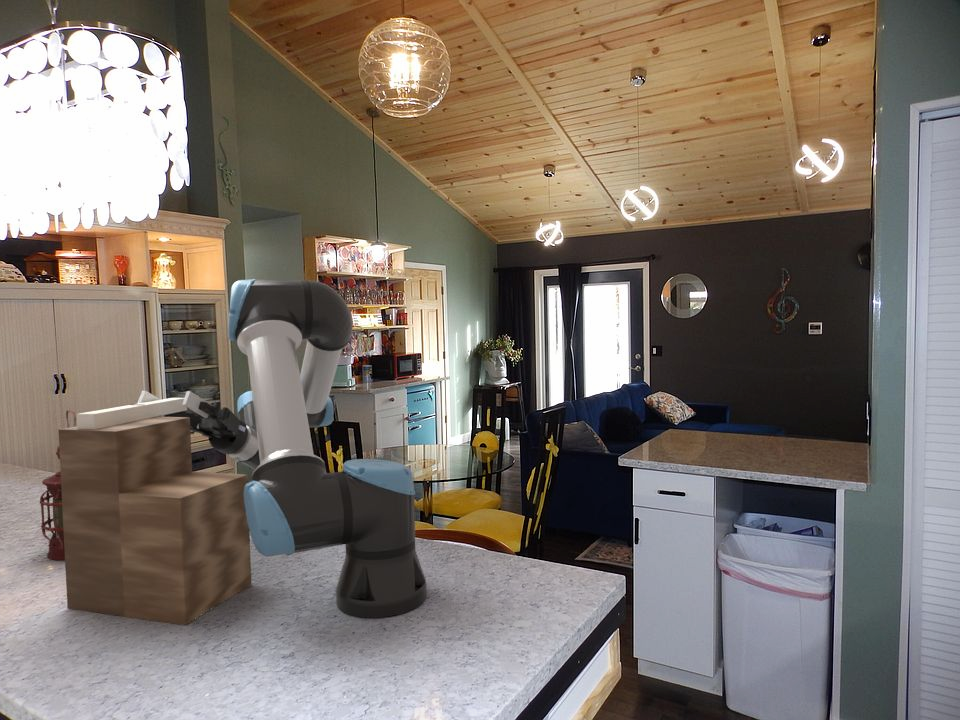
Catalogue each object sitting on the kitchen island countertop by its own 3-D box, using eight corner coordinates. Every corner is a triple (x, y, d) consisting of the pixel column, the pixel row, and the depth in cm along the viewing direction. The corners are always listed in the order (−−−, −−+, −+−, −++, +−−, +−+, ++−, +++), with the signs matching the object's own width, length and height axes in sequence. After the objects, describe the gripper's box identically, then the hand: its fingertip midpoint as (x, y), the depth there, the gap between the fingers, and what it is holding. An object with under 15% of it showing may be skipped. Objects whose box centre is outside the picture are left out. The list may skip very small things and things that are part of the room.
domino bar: (172, 410, 126) (172, 397, 126) (187, 410, 125) (186, 397, 125) (77, 429, 102) (76, 413, 102) (94, 429, 102) (93, 413, 102)
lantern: (118, 550, 131) (111, 409, 130) (48, 567, 123) (40, 415, 121) (102, 537, 140) (96, 404, 138) (37, 552, 131) (29, 410, 130)
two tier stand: (144, 571, 119) (137, 416, 118) (251, 584, 112) (245, 418, 111) (67, 608, 104) (58, 429, 102) (185, 625, 97) (177, 433, 95)
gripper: (273, 457, 131) (206, 417, 112) (186, 452, 138) (109, 414, 119) (282, 423, 135) (219, 379, 116) (197, 421, 141) (123, 379, 122)
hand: (163, 397), depth 117 cm, fingers open, 10 cm apart
